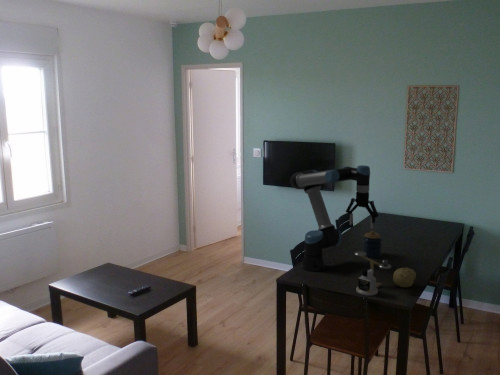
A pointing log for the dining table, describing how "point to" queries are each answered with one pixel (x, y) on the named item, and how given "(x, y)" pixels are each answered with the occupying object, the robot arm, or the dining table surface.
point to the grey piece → (367, 281)
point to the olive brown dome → (404, 277)
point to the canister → (372, 245)
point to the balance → (383, 265)
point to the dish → (367, 292)
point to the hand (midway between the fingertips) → (361, 226)
